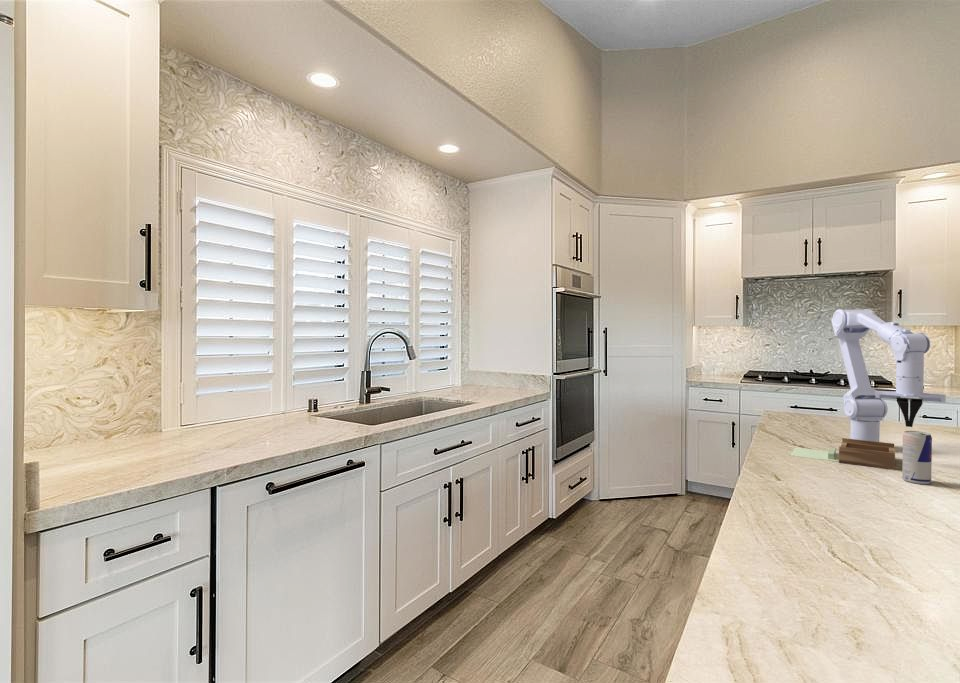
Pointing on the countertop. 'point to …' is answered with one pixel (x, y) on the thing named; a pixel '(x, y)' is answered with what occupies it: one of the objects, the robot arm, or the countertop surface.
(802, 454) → the lid
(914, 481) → the energy drink
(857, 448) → the box
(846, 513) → the countertop surface
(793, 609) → the countertop surface
